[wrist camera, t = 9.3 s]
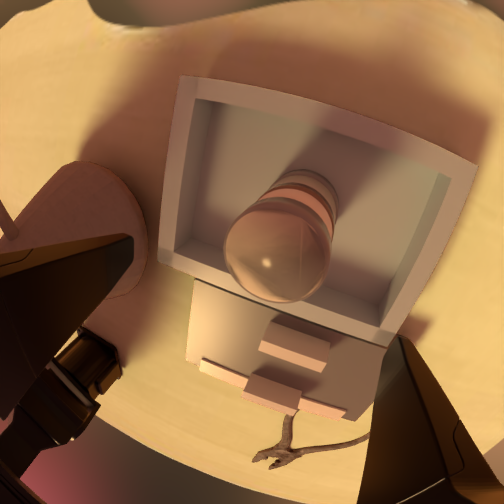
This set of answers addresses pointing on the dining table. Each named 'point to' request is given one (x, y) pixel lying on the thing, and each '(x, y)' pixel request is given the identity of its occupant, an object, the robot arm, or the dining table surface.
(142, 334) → the dining table surface
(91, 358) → the robot arm
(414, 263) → the tray
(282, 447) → the pliers
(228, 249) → the cylinder
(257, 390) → the fuse panel
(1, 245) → the coffee pot
